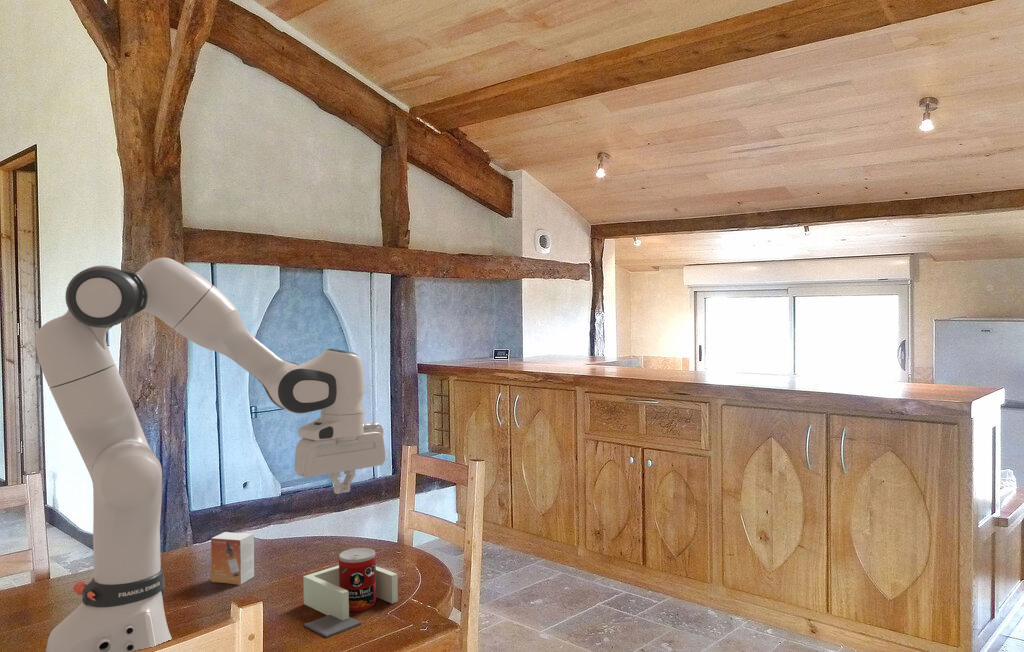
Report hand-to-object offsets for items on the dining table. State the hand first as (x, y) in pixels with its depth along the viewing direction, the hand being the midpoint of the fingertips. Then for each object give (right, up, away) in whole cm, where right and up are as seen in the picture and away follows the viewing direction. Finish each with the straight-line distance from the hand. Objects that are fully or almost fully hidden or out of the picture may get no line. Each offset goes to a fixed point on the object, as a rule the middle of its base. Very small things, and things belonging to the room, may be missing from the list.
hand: (341, 492), depth 152 cm
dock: (+2, -25, +4) cm, 25 cm away
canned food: (+3, -25, +3) cm, 25 cm away
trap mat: (0, -25, -7) cm, 26 cm away
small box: (-30, -25, +19) cm, 44 cm away
